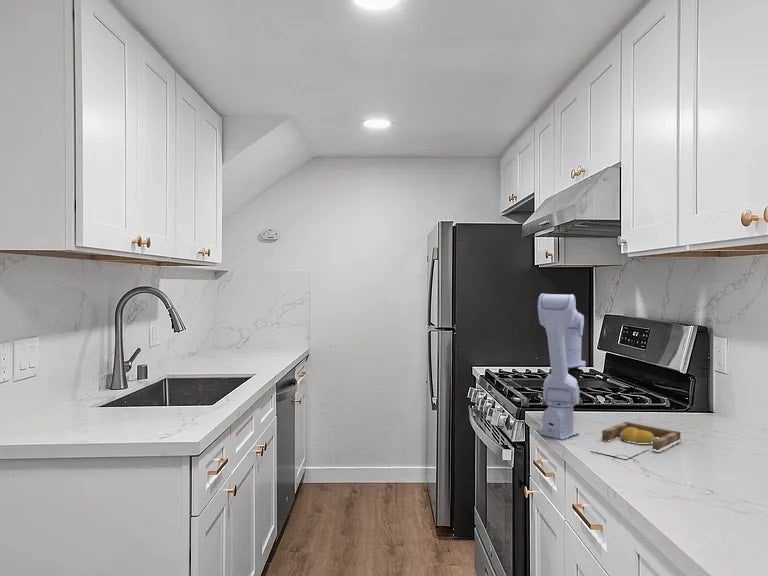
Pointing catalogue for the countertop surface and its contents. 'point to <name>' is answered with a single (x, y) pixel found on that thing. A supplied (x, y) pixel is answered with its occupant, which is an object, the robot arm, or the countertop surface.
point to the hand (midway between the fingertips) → (571, 391)
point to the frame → (663, 434)
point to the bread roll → (636, 435)
